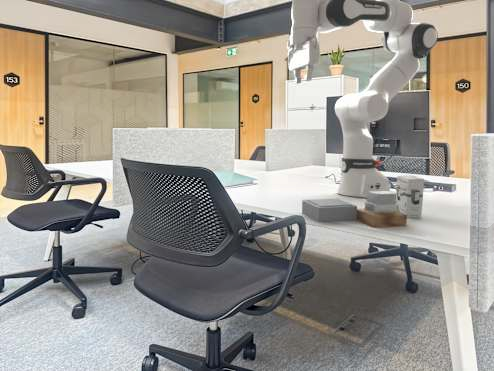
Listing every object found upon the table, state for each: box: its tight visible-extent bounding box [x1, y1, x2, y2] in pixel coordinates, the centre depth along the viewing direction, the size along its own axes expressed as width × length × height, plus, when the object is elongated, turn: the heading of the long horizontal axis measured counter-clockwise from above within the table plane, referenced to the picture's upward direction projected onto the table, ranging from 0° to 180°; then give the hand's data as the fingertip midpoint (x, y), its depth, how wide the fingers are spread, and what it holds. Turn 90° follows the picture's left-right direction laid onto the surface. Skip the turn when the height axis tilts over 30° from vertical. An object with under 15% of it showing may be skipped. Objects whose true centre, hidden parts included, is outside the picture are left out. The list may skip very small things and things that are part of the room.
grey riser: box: [301, 198, 358, 223], centre depth 122 cm, size 12×12×4 cm
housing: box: [364, 191, 397, 214], centre depth 115 cm, size 7×5×6 cm
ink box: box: [395, 174, 425, 219], centre depth 125 cm, size 9×5×12 cm, turn 4°
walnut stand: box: [356, 207, 408, 228], centre depth 116 cm, size 10×10×3 cm
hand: (302, 82), depth 140 cm, fingers open, 8 cm apart
